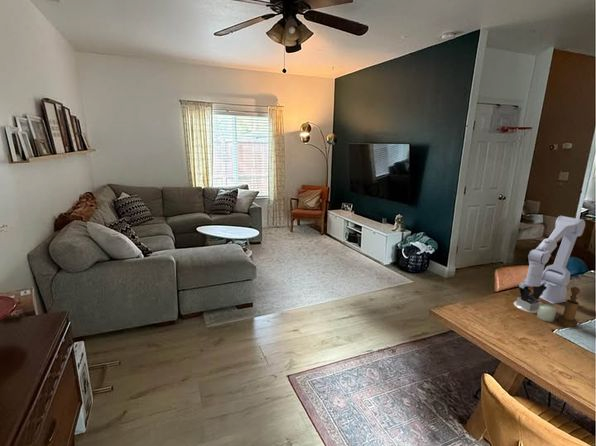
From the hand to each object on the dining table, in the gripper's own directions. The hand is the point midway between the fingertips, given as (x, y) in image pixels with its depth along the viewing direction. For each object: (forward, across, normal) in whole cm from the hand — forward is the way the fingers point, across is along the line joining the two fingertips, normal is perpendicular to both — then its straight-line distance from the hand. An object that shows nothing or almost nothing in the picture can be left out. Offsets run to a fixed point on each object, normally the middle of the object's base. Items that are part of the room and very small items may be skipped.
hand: (529, 299), depth 153 cm
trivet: (+4, 0, 0) cm, 4 cm away
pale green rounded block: (+4, +2, +10) cm, 11 cm away
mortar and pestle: (+4, -3, +16) cm, 17 cm away
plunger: (+4, 0, 0) cm, 4 cm away
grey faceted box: (+4, 0, -1) cm, 4 cm away
